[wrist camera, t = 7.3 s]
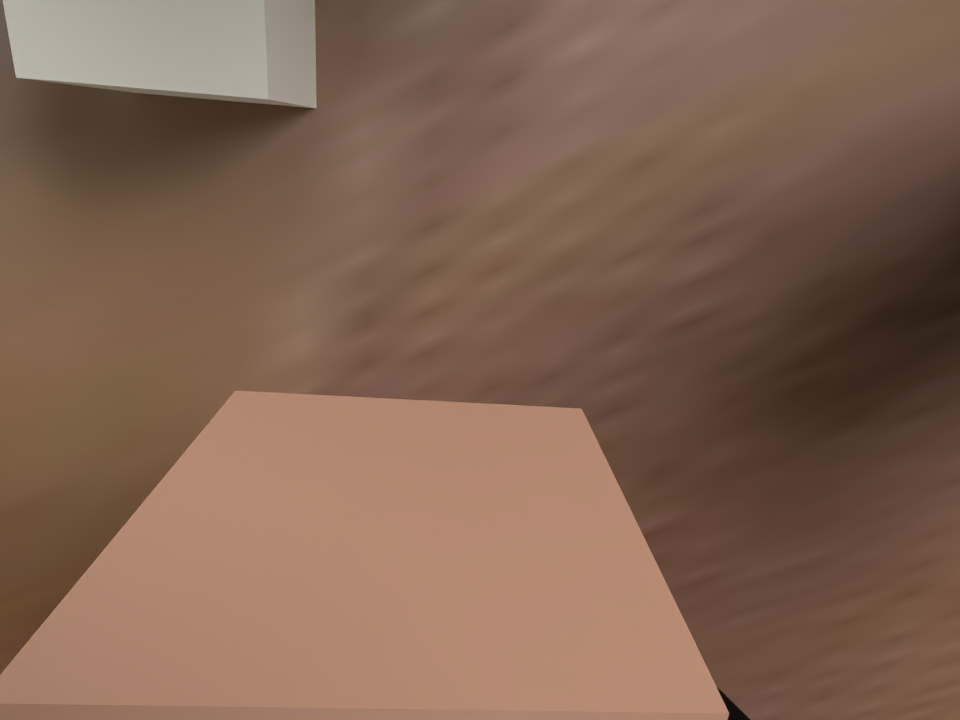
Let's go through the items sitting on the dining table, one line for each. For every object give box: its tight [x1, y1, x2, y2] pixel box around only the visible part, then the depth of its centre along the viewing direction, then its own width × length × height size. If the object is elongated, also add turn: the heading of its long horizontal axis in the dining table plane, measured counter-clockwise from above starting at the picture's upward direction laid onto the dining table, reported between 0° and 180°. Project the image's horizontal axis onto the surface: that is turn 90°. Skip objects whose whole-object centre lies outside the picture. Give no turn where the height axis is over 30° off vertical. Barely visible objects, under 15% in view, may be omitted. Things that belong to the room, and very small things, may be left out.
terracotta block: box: [0, 391, 729, 720], centre depth 7 cm, size 5×5×5 cm
